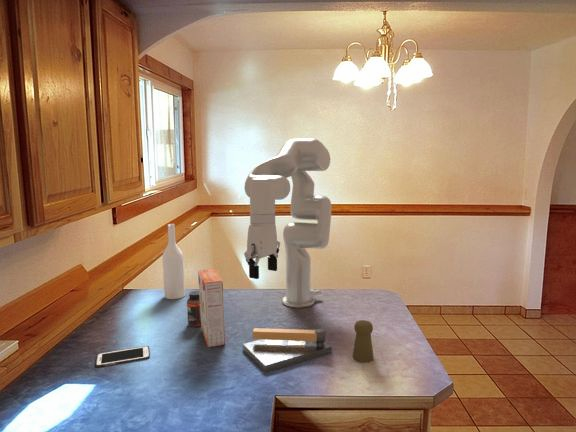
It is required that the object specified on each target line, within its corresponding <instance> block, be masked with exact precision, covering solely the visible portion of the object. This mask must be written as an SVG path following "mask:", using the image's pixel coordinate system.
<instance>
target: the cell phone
mask: <svg viewBox="0 0 576 432" xmlns="http://www.w3.org/2000/svg"><path fill="white" fill-rule="evenodd" d="M150 354H151V353H150V346H149V345H144V346H143V345H142V346H136V347H131V348H124V349H123V348H122V349H117V350H111V351H105V352H99V353H97V355H96V359H95V363H94V364H95V368H103V367H106V366H114V365H121V364H126V363H133V362H138V361H145V360H149V359H151V355H150Z"/></svg>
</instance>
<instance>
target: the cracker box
mask: <svg viewBox="0 0 576 432" xmlns="http://www.w3.org/2000/svg"><path fill="white" fill-rule="evenodd" d="M197 275H198V291H199V296H200V313H201V326H200V329H201V332H202V335H203V338H204V341H205V343H206V347H207V348H215V347H219V346H220V347H221V346H225V345H226V331H225V327H226V326H225V310H224V308H225V306H224V286H223V285H224V284H223V280H222V278H221V277H220V275H219V273H218V272H217V270H216V269H215V268H211V269H200V270H198V271H197Z"/></svg>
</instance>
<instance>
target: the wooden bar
mask: <svg viewBox="0 0 576 432" xmlns="http://www.w3.org/2000/svg"><path fill="white" fill-rule="evenodd" d="M326 332H327V331H326V330H325V329H324V328H318V329H307V330H300V329H294V328H293V329H290V328H287V329H286V328H268V327H267V328H266V327H265V328H262V327H261V328H259V327H253V329H252V339H253V340H261V339H266V340H295V341H317V342H326V340H327V339H326V335H327V333H326Z"/></svg>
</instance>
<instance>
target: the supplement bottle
mask: <svg viewBox="0 0 576 432" xmlns="http://www.w3.org/2000/svg"><path fill="white" fill-rule="evenodd" d="M186 306H187V307H186V311H187V324H188V326H189V327H193V328H198V327H201V313H200V296H199V290H198V291H197V290H195V291H190V292H189V293H188V299H187V300H186Z"/></svg>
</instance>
